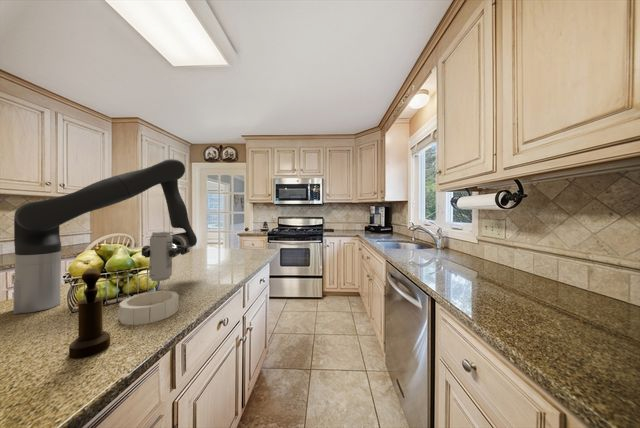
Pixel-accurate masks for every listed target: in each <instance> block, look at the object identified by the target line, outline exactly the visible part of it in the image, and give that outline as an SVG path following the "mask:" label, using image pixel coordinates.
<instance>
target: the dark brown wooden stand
mask: <svg viewBox="0 0 640 428" xmlns="http://www.w3.org/2000/svg"><path fill="white" fill-rule="evenodd" d="M101 274H102V273H101V271H100V270H99V269H96V268H89V269H86V270H85V271H84V272H83V273H82V275H81V279H82V281H83V283H85V285H86V288H85V289H84V290H83V294H84V297H85V298H84V299H81V300H80V301H78V303H77V306H78V308H77V309H78V311H77V313H78V317H77V318H78V319H77V320H78V321H77V323H78V324H77V325H78V329H77V330H78V331H77V333H78V335H77V337H76V338H75V339H74V340H73V341H72V342H70V344H69V346H68V348H69V349H68V352H69V353H68V357H69V358H70V359H73V360H77V359H84V358H87V357H91V356H95V355H97V354H99V353H102V352H104V350H106V349H108V348H109V346H110V345H111V334H110V333H109V332H108V331H105V330H104V326H103V323H104V319H103V316H104V315H103V312H104V311H103V310H104V309H103V308H104V307H103V305H104V297H97V295H98V291H99V288H98V287H97V285H96V284H97V283H98V282H99V280H100V278H101Z"/></svg>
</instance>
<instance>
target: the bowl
mask: <svg viewBox="0 0 640 428" xmlns="http://www.w3.org/2000/svg"><path fill="white" fill-rule="evenodd" d="M118 310H119V311H118V321H119V322H120V323H121V325H129V326H139V325H146V324H147V325H148V324H152V323H156V322H160V321H162V320H165V319H167V318H169V317H171V316H174V315H175V314H176V313H177V312H178V310H179V293H178V292H176V291H173V290H156V291H149V292H143V293H138V294H135V295H132V296H130V297H127V298H124V299H123V300H122V301H120V302H119V304H118Z"/></svg>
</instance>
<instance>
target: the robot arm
mask: <svg viewBox="0 0 640 428" xmlns="http://www.w3.org/2000/svg"><path fill="white" fill-rule="evenodd" d="M185 173H186V166H185V164H184V163H183V162H182V161H181V160H180V159H179V160H178V159H176V158H167V159H164V160H162V161H160V162H158V163H155V164H153V165H151V166H148V167H145V168H143V169H142V168H141V169H137V170H132V171H128V172H125V173H121V174H118V175H113V176H111V177H107V178H104V179H102V180H99V181H96V182H94V183H91V184H89V185H87V186H85V187H82V188H80V189H79V190H78V189H77V191H73V192H71V193H67V194H64V195H61V196H57V197H53V198H49V199H43V200H39V201H38V200H37V201H29V202H26V203H23V204H22V205H20V206H19V207H18V208H17V209H16V211H15V212H14V216H13V217H14V219H13V222H14V223H13V224H14V225H13V226H14V227H13V228H14V229H13V239H14V240H13V241H14V242H13V245H14V281H13V311H12V312H13V315H17V314H18V315H19V314H26V313H27V314H28V313H34V312H39V311H44V310H48V309H52V308H54V307H57V306H59V305H60V304H61V296H62V295H61V291H62V289H61V285H62V282H61V281H62V279H61V277H62V276H61V275H62V273H61V272H62V242H61V237H60V226H62V225H63V224H66V223H67V222H69V221H71V220H73V219H75V218H78V217H80V216H82V215H84V214H88V213H90V212H93V211H96V210H99V209H103V208H107V207H110V206H112V205H115V204H119V203H121V202H125V201H127V200H129V199H132V198H133V197H135V196H138V195H139V194H142V193H144V192H145V191H147V190H149V189H151V188H153V187H155V186H157V185H160V186H161V189H162V191H163V196H164V197H165V202H166V207H167V212H168V216H169V222H170V225H171V228H174V229H183V231H184V232H179V233H173V234H171V236H172V249H171V250H170V257H172V259H174V258H175V257H177V256H179V255H182V256H184V255H186V254H187V253H190V250H191V247H192V248H193V247H195V246H196V244H197V243H198V237H197V236H196V234H195V231H194V230H193V228H192V226H191V224H190V219H189V215H188V211H187V210H188V209H187V206H186V204H185V201H184V200H183V198H182V196H181V193H180V190H179V182H178V181H179V179H182V177H183V176H184V175H185ZM141 257H144V258H146V259H147V258H148V259H149V258H150V245H148V244H147V245H144V246H142V247H141Z"/></svg>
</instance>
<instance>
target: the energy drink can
mask: <svg viewBox="0 0 640 428" xmlns="http://www.w3.org/2000/svg"><path fill="white" fill-rule="evenodd" d="M171 235H172V234H171V232H170V231H155V232H152V233H151V236H150V237H149V246H150V257H149V263H148V264H149V273H148V274H149V276H148V277H149V279H150V280H151V281H152V282H161V281H163V282H164V281H167V280H169V279H170V278H171V276H172V275H173V258H172V257H170V250H171V249H172V236H171Z"/></svg>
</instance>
